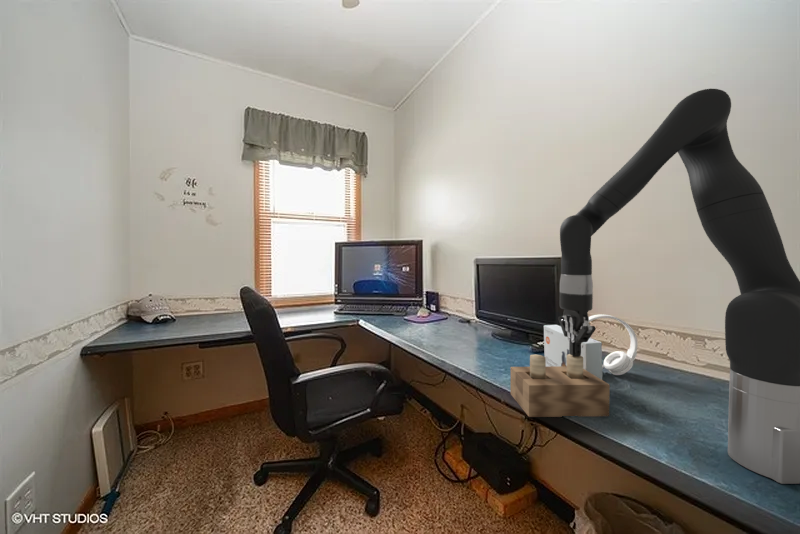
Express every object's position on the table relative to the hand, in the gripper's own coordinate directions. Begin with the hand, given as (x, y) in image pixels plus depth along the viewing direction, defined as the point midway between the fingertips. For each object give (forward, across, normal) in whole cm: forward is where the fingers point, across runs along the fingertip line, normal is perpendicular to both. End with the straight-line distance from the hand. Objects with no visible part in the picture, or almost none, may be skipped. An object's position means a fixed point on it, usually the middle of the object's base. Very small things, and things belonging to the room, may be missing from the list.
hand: (574, 355), depth 77 cm
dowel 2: (+8, 0, 0) cm, 8 cm away
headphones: (+14, +20, -22) cm, 33 cm away
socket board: (+13, 0, +5) cm, 14 cm away
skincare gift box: (+14, +14, -7) cm, 21 cm away
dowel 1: (+8, 0, +10) cm, 13 cm away
